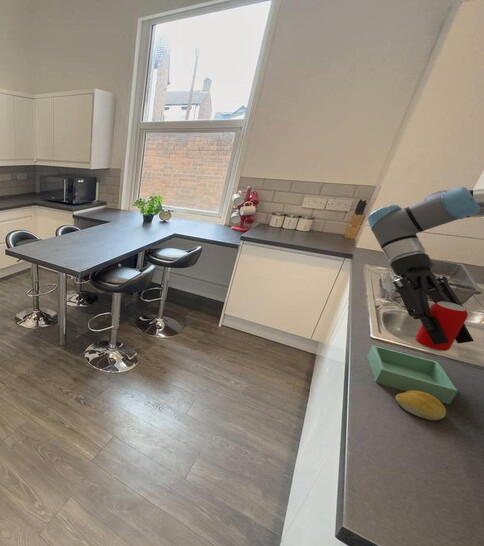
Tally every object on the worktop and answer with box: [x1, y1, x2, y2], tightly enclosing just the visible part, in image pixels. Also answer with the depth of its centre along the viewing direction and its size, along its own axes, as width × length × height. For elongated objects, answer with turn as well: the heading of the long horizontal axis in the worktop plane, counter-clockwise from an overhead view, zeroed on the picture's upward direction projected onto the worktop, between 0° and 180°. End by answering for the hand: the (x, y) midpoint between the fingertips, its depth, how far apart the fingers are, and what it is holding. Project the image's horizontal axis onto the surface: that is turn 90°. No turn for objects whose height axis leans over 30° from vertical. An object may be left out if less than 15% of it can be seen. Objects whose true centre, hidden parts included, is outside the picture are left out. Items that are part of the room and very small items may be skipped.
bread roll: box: [394, 390, 447, 421], centre depth 79 cm, size 8×9×4 cm
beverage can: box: [414, 302, 468, 352], centre depth 78 cm, size 6×6×12 cm
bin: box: [366, 344, 458, 405], centre depth 90 cm, size 15×15×5 cm
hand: (453, 342), depth 76 cm, fingers closed on beverage can, 6 cm apart
